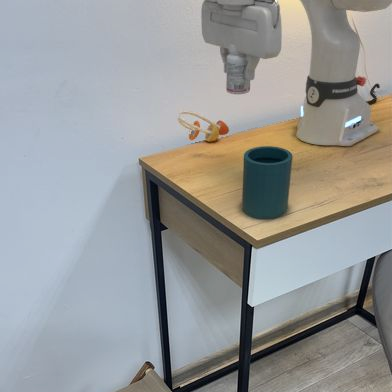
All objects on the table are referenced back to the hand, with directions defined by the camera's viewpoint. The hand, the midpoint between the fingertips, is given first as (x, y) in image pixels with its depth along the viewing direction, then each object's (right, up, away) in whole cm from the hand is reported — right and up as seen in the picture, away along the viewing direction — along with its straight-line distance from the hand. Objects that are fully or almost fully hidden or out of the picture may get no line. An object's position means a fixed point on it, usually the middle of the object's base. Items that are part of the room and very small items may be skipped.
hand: (238, 76), depth 97 cm
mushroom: (-13, +6, +28) cm, 31 cm away
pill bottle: (0, -2, +2) cm, 3 cm away
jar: (+6, -25, +4) cm, 26 cm away
